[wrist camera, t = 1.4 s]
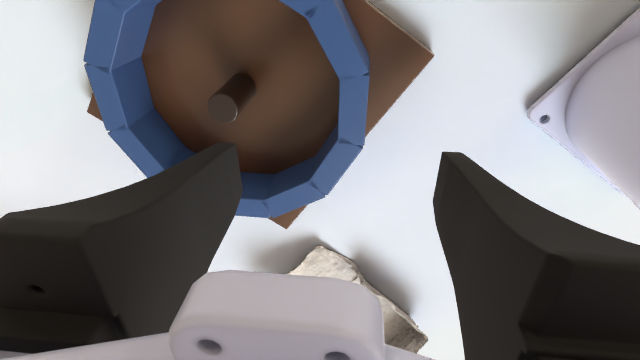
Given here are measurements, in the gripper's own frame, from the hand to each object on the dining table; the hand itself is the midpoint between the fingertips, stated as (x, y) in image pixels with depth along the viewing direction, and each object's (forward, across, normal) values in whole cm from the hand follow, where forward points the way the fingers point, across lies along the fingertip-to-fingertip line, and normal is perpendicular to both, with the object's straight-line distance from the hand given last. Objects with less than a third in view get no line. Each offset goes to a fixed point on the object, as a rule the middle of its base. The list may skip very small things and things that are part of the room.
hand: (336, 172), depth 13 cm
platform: (+10, +6, 0) cm, 12 cm away
